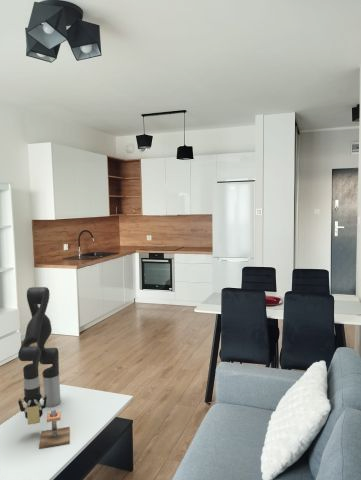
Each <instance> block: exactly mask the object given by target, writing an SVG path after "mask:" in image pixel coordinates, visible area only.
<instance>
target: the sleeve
mask: <svg viewBox="0 0 361 480" xmlns="http://www.w3.org/2000/svg"><path fill="white" fill-rule="evenodd" d="M38 403H39V402H38ZM27 418H28V419H27ZM27 418H26V419H27V425H28V426H29V425H34V424H41V418H42V416H41V417H40V413H39V405H32V406H30V405H29V407H28V406H27Z"/></svg>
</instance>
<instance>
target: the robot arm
mask: <svg viewBox="0 0 361 480" xmlns="http://www.w3.org/2000/svg"><path fill="white" fill-rule="evenodd" d="M50 297H51V296H50V289H49V288H48V287H47V286H32V287H28V288H27V290H26V299H27V305H28V308H29V311H30V313H31V314H30V315H31V318H30V320H29V321H28V323H27V326H26V330H25V336H24V339H23V341H22V344H21V346H20V348H19V350H18V353H17V354H18V355H17V356H18V359H19V360H20V362H32V363H29V364H26V365H24V366H23V371H22V373H23V393H24V397H22V398H19V399H18V400H17V401H18V406H19V410H20V413H21V412H24V417H25V419H26V420H28V418H27V406H28V407H29V405H30V406H32V405H39V413H40V417H41V418H42V416H43V409H46V408H47V407H48V408H49V407H52V408H53V407H56V406H58V405H60V404H61V387H60V385H61V384H60V366H59V365H60V364H59V363H60V361H59V360H60V359H59V357H60V356H59V353H60V352H59V349H58V348H57V347H45V345H46V342H47V341H48V339H49V338H50V336H51V334H52V331H53V330H52V323H51V320H50V318H49V317H48V316H47V315H46V311H47V309H48V304H49V301H50ZM32 344H33V345H34V344H36V346H35V345H34V346H33V345H32ZM39 364H40V365H51V366H50V367H46V368H45V369H44V370H43V371H42V373H41V374H42V386H43V387H42V389H43V390H42V391H43V395H42V394H41V385H40V384H41V383H40V376H39ZM41 400H42V401H43V404H42V403H41ZM38 402H39V403H38ZM24 403H26V405H25V407H24Z"/></svg>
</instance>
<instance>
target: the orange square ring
mask: <svg viewBox="0 0 361 480" xmlns="http://www.w3.org/2000/svg"><path fill="white" fill-rule="evenodd" d="M61 413H62V412H61V411H60V410H59V411H56V417H51V412H48V413H46V414H47V415H46V423H52V422H53V421H56V422H58V421H59V422H60V421H61V418H62V417H61V415H62V414H61Z"/></svg>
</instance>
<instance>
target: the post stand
mask: <svg viewBox="0 0 361 480" xmlns="http://www.w3.org/2000/svg"><path fill="white" fill-rule="evenodd" d="M56 412H57V410H51V412H50V413H51V417H57V416H56ZM70 430H71V429H70V426H66V427H59V428H58V425H57V421H53V422H51V429H46V430H41V431H40V436H39V444H38V449H40V450H41V449H47V448H53V447H59V446H64V445H70V442H71V440H70Z"/></svg>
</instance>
